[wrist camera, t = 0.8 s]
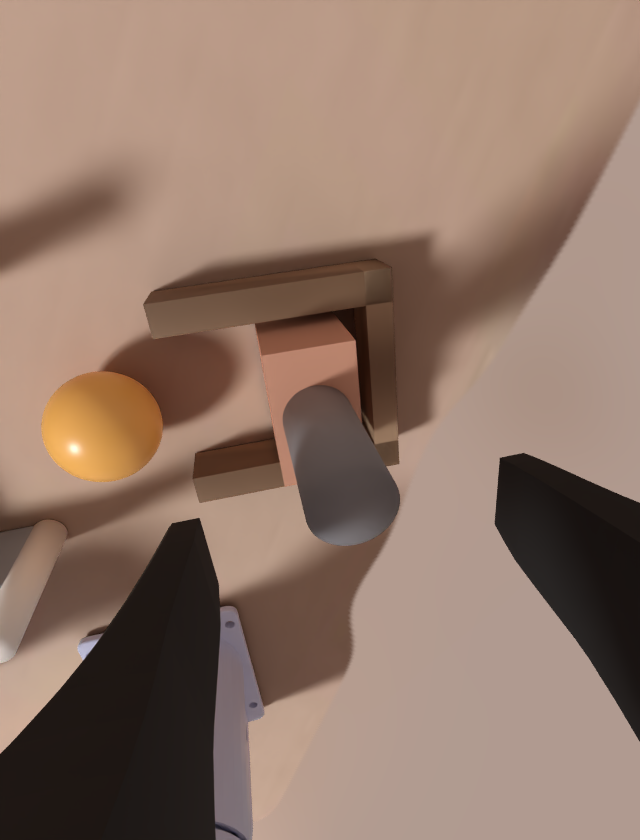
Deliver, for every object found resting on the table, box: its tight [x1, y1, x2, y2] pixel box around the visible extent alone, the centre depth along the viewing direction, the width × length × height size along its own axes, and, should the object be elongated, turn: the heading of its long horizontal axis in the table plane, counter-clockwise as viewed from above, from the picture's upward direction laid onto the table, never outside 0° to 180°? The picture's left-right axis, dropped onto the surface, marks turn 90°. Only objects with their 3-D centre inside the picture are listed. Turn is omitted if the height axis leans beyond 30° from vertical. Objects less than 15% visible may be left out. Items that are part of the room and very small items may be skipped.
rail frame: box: [143, 259, 399, 503], centre depth 19 cm, size 8×8×2 cm
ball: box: [41, 371, 163, 482], centre depth 17 cm, size 4×4×4 cm
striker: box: [255, 311, 400, 546], centre depth 16 cm, size 5×3×9 cm, turn 6°
